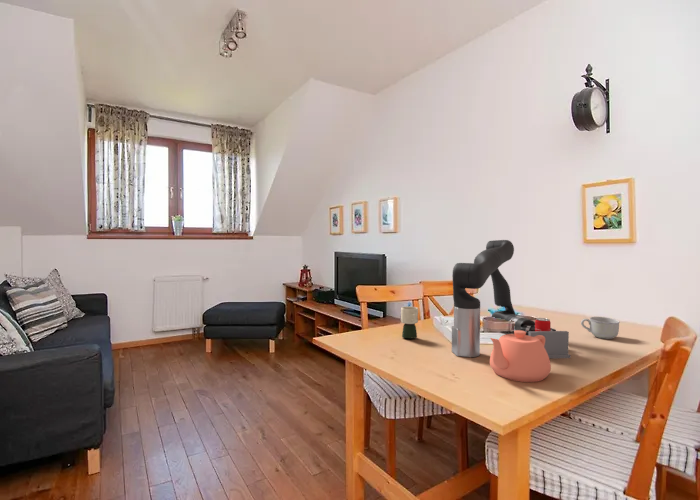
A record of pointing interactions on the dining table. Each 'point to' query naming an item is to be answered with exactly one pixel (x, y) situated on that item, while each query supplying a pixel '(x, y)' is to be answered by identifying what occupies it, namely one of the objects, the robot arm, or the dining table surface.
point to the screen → (554, 342)
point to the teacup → (602, 327)
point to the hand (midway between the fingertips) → (545, 336)
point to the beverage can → (542, 324)
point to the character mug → (409, 321)
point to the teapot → (520, 357)
